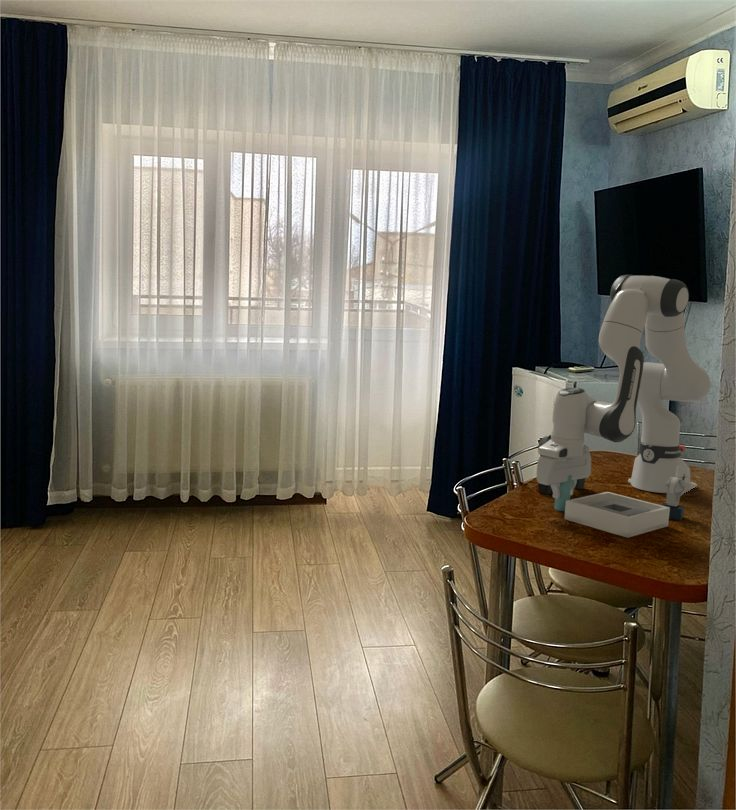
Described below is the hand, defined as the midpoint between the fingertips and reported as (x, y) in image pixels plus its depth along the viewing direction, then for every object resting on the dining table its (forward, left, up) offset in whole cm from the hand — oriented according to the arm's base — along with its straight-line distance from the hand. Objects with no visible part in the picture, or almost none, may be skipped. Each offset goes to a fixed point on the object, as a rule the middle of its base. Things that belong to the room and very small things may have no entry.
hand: (562, 496), depth 231 cm
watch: (-21, +21, -4) cm, 30 cm away
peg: (0, 0, -4) cm, 4 cm away
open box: (-2, +16, -4) cm, 17 cm away
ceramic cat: (-18, -14, -4) cm, 23 cm away
